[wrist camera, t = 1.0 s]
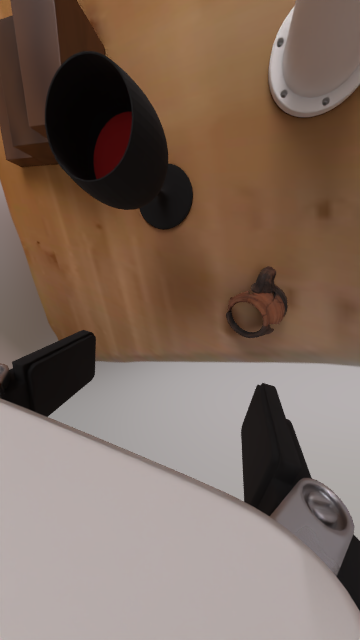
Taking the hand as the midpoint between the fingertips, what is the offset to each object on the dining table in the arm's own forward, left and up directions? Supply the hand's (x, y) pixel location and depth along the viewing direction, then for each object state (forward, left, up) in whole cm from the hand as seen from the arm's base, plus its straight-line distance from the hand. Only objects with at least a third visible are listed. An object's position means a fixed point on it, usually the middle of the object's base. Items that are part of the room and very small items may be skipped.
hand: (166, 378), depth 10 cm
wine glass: (-5, -19, -29) cm, 35 cm away
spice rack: (0, -44, -29) cm, 53 cm away
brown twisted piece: (-6, +6, -29) cm, 30 cm away
